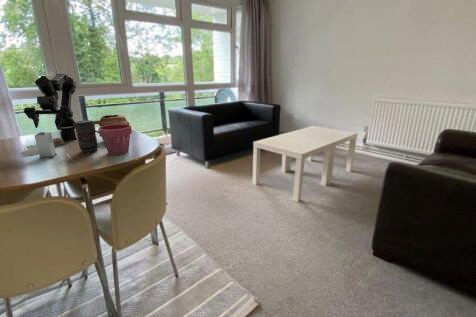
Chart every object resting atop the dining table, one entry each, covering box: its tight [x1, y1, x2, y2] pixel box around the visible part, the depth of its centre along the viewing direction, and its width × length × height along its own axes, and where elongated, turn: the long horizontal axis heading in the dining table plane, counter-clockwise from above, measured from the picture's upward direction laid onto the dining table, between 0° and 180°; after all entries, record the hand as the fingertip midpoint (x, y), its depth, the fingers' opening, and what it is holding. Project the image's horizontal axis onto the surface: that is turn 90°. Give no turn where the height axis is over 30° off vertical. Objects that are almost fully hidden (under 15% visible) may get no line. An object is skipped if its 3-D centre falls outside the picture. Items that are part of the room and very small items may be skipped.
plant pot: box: [97, 124, 133, 156], centre depth 126 cm, size 14×14×13 cm
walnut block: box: [52, 137, 65, 148], centre depth 138 cm, size 5×5×4 cm
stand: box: [23, 144, 39, 156], centre depth 128 cm, size 9×9×3 cm
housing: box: [34, 131, 58, 160], centre depth 119 cm, size 5×5×12 cm
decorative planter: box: [92, 114, 130, 134], centre depth 147 cm, size 20×12×14 cm, turn 128°
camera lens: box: [75, 119, 99, 154], centre depth 127 cm, size 8×8×15 cm
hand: (47, 127), depth 123 cm, fingers open, 9 cm apart
